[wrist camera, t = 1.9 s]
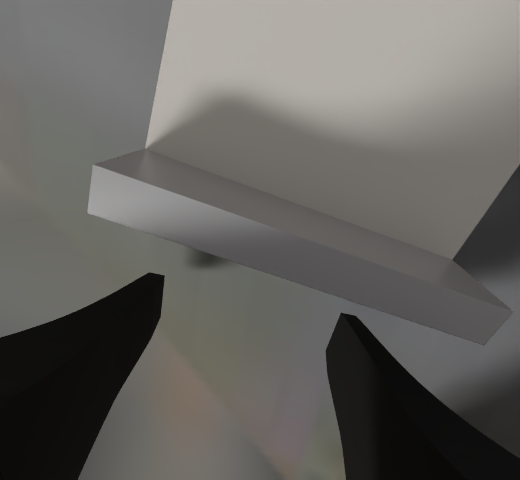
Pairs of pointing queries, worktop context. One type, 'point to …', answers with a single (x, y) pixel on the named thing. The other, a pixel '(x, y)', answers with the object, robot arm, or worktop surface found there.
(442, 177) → the grey l-shaped bracket
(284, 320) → the worktop surface
